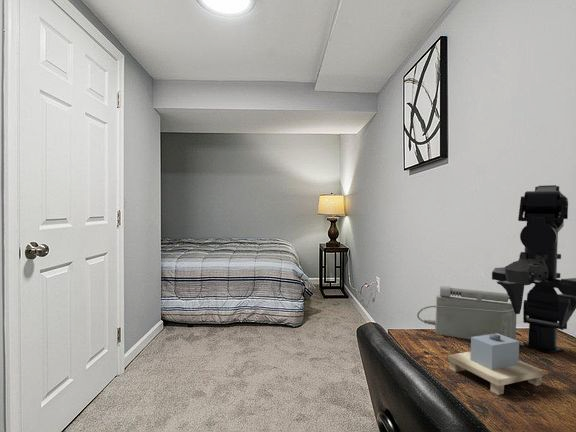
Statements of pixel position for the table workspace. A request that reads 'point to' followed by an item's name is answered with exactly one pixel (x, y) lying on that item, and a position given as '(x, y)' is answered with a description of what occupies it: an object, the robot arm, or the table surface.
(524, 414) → the table surface
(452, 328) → the geiger counter
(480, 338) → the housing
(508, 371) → the stand
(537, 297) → the robot arm
